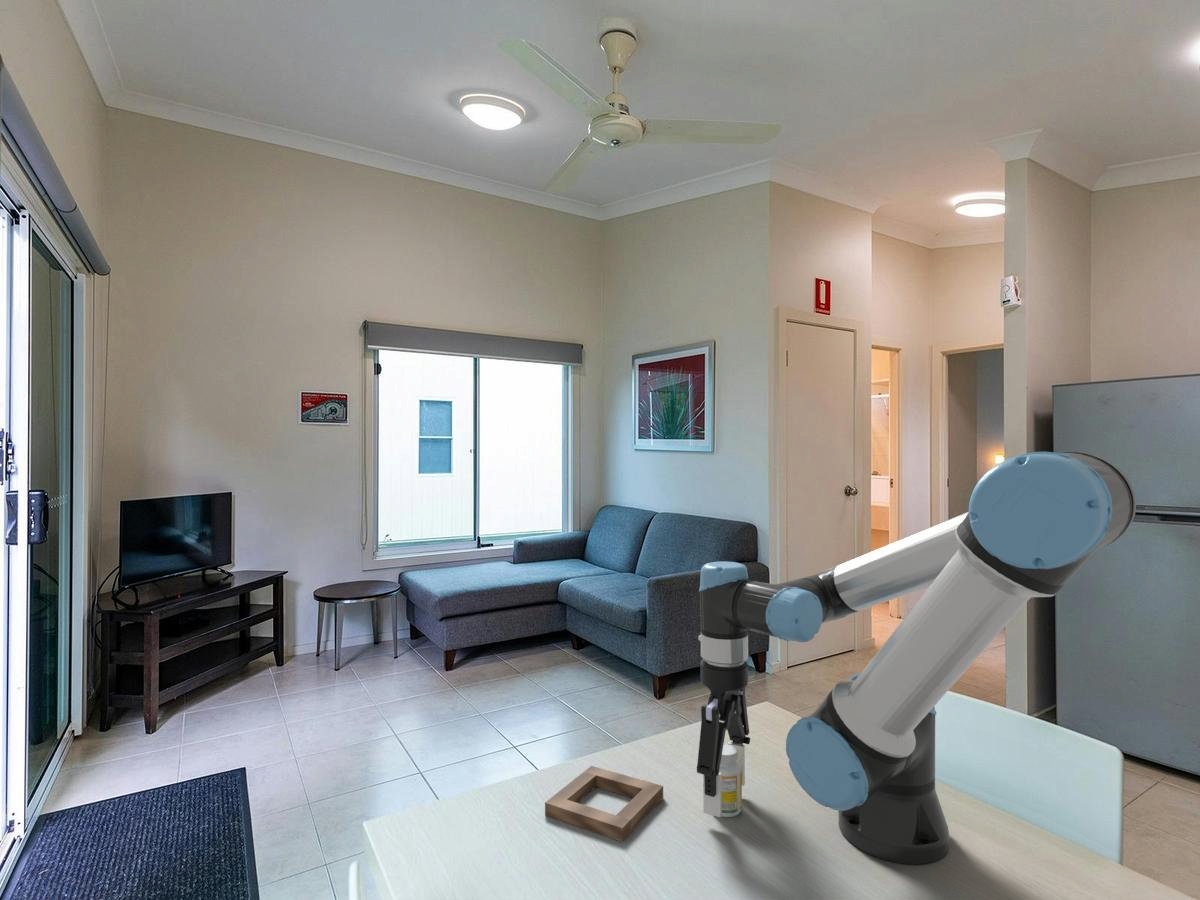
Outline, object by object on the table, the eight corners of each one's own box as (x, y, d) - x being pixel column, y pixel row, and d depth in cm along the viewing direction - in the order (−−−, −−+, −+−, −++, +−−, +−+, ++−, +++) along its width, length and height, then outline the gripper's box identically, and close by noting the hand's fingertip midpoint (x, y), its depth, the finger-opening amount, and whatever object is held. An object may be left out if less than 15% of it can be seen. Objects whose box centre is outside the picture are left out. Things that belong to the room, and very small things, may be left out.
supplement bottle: (728, 822, 102) (728, 760, 102) (701, 808, 106) (700, 749, 106) (748, 809, 106) (748, 749, 106) (721, 796, 110) (721, 738, 110)
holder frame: (663, 797, 110) (663, 785, 110) (622, 841, 98) (622, 828, 98) (591, 776, 117) (591, 765, 117) (545, 815, 105) (545, 802, 105)
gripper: (726, 638, 118) (727, 762, 118) (673, 677, 98) (674, 826, 98) (767, 644, 114) (768, 773, 114) (721, 686, 94) (722, 841, 95)
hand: (725, 797), depth 106 cm, fingers open, 10 cm apart
